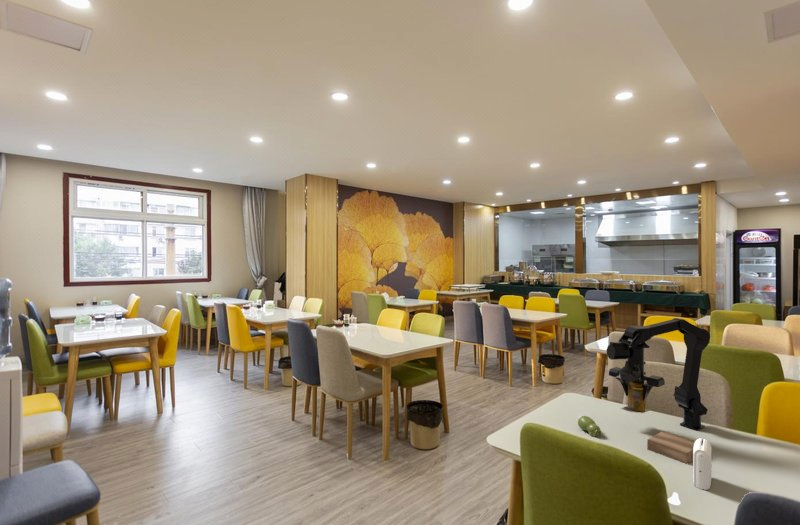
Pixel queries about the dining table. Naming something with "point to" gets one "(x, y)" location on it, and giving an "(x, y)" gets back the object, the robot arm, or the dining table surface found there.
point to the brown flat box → (672, 446)
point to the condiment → (636, 398)
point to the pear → (589, 426)
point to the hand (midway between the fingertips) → (635, 398)
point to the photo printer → (702, 464)
